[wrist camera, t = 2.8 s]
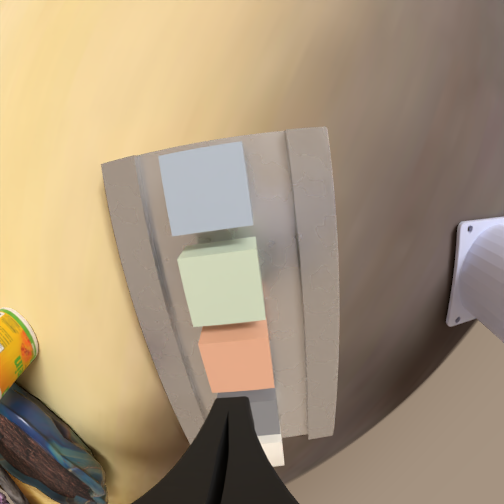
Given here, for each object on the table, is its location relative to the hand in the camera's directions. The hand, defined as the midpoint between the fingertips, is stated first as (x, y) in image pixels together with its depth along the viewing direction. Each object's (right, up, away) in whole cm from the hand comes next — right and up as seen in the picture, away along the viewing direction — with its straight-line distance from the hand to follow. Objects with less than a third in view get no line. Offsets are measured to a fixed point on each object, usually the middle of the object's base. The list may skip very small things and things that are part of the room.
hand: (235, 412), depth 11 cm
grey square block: (-1, +10, +2) cm, 10 cm away
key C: (0, +2, +5) cm, 5 cm away
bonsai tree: (-30, -14, +12) cm, 35 cm away
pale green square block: (-1, +6, +4) cm, 7 cm away
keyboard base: (0, +2, +7) cm, 7 cm away
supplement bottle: (-20, 0, +8) cm, 21 cm away
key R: (+1, -3, +6) cm, 7 cm away
